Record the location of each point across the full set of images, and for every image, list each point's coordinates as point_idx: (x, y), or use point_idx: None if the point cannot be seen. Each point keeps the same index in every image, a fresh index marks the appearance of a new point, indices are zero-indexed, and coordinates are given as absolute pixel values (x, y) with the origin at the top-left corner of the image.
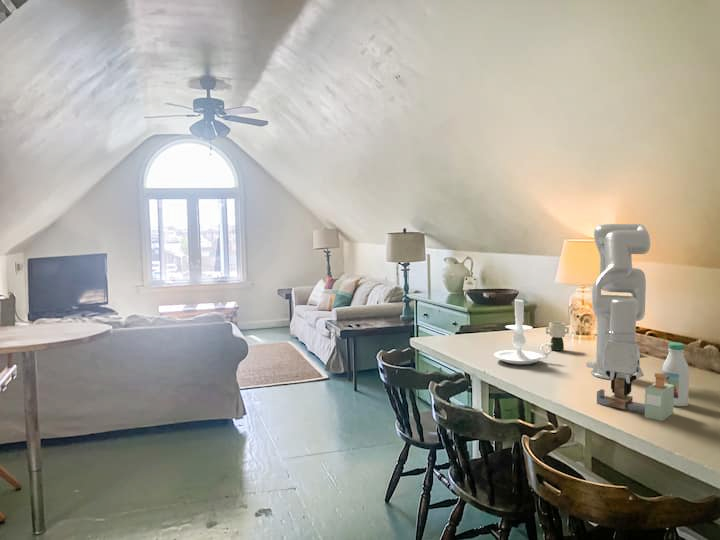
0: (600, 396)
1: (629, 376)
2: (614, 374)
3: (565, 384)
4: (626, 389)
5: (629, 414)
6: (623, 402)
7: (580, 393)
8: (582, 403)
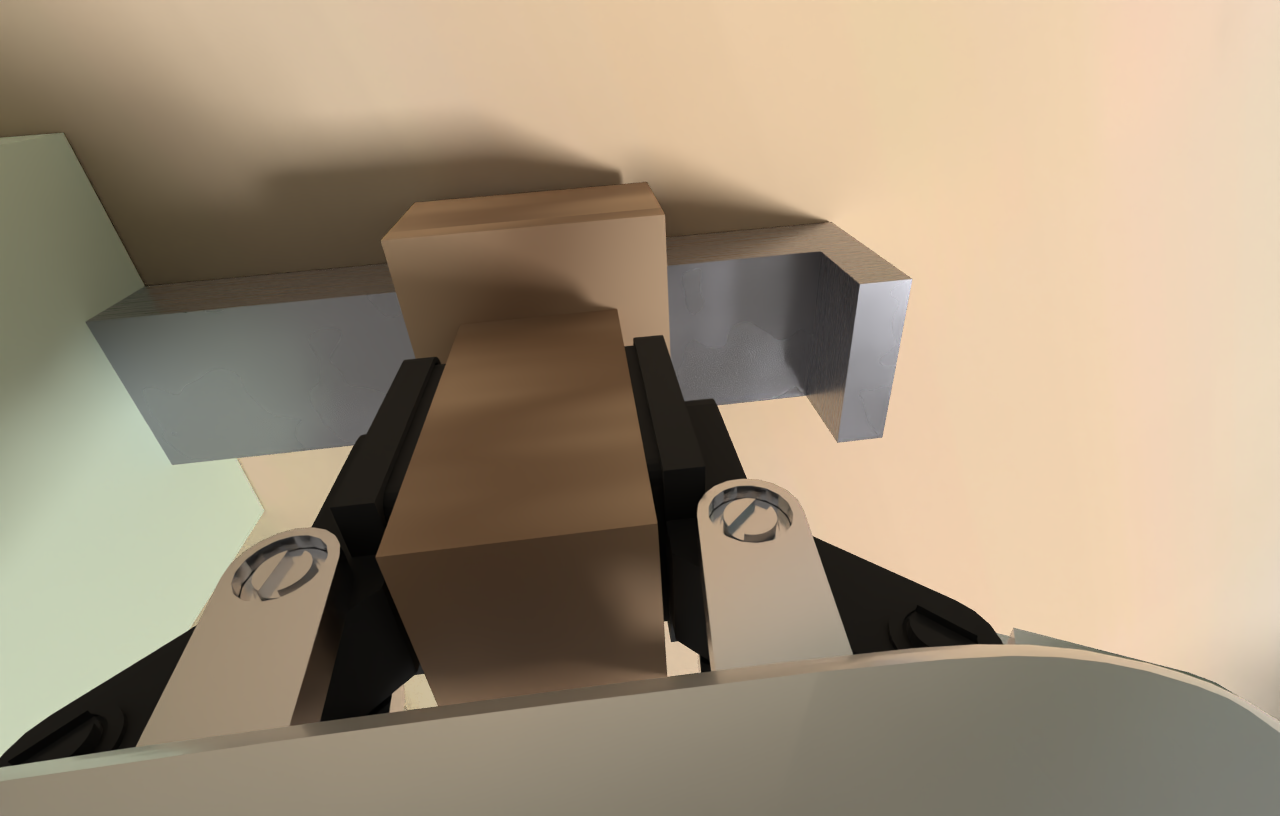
0: (825, 280)
1: (146, 728)
2: (709, 651)
3: (1232, 551)
4: (382, 426)
5: (273, 86)
6: (414, 227)
7: (1074, 424)
8: (995, 54)
